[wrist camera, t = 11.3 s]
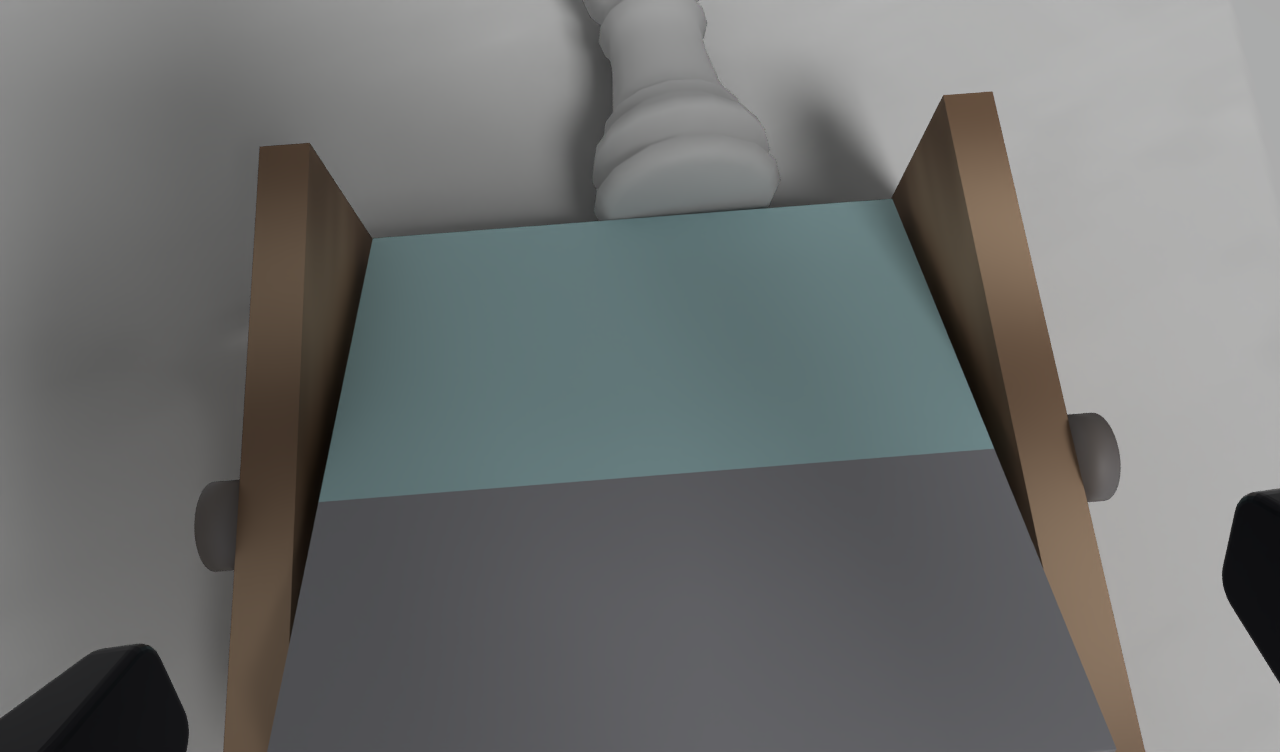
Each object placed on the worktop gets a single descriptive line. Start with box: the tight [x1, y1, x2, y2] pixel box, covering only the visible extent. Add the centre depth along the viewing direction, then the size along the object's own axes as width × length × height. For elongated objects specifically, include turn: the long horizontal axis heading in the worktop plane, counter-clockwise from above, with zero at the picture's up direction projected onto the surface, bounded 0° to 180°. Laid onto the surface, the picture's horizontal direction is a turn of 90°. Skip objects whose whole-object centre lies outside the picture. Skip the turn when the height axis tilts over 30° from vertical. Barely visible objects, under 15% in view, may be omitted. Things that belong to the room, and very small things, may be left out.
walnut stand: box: [195, 92, 1145, 752], centre depth 19 cm, size 14×16×6 cm
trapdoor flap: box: [267, 199, 1117, 752], centre depth 17 cm, size 12×12×2 cm
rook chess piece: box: [583, 0, 781, 221], centre depth 23 cm, size 4×4×8 cm
